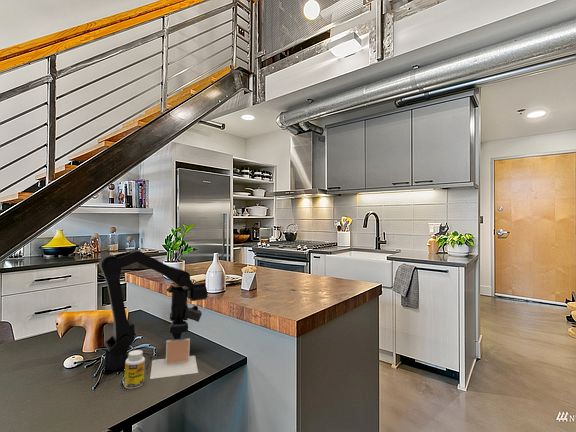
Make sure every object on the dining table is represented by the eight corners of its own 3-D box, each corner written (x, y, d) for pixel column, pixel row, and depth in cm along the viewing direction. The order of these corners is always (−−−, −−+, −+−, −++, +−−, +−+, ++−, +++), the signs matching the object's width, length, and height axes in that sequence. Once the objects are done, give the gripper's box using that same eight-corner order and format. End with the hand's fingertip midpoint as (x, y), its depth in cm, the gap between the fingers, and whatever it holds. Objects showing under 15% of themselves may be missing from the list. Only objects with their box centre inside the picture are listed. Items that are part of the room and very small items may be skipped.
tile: (165, 364, 111) (166, 342, 111) (165, 362, 113) (166, 340, 113) (188, 362, 114) (190, 339, 114) (188, 359, 115) (189, 338, 116)
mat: (150, 380, 101) (150, 378, 101) (152, 361, 114) (152, 360, 114) (198, 373, 106) (198, 372, 106) (195, 356, 119) (195, 355, 119)
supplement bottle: (124, 391, 94) (126, 357, 94) (122, 383, 98) (124, 350, 98) (145, 387, 97) (146, 354, 97) (142, 379, 101) (143, 347, 101)
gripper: (203, 308, 115) (201, 350, 114) (198, 295, 132) (197, 333, 132) (170, 309, 111) (168, 354, 110) (170, 297, 128) (168, 335, 128)
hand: (177, 343), depth 120 cm, fingers closed
